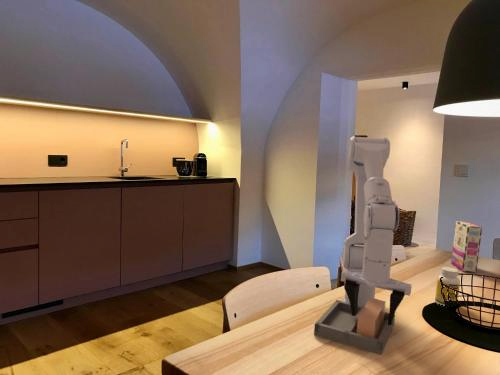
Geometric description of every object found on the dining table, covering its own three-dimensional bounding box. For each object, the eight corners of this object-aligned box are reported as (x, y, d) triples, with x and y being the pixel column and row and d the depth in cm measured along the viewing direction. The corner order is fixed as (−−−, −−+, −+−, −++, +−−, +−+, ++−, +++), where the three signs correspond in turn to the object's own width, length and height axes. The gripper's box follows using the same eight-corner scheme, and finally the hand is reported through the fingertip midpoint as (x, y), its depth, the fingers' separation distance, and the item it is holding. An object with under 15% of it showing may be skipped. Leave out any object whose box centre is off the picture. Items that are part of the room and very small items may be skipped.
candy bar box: (477, 273, 134) (483, 227, 132) (462, 272, 134) (467, 226, 133) (464, 264, 145) (469, 221, 143) (450, 262, 145) (455, 220, 144)
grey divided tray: (335, 309, 97) (336, 300, 96) (394, 324, 90) (395, 314, 90) (313, 334, 83) (314, 323, 82) (381, 354, 76) (382, 342, 76)
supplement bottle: (447, 309, 101) (451, 273, 100) (430, 301, 105) (434, 266, 104) (461, 306, 103) (465, 271, 102) (444, 299, 108) (448, 265, 107)
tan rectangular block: (368, 318, 91) (370, 297, 90) (383, 322, 89) (385, 301, 88) (356, 338, 80) (358, 316, 80) (373, 343, 78) (375, 320, 78)
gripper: (338, 256, 83) (334, 316, 84) (410, 270, 76) (404, 335, 77) (347, 249, 89) (343, 305, 90) (414, 261, 82) (408, 322, 83)
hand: (371, 318), depth 84 cm, fingers open, 7 cm apart
